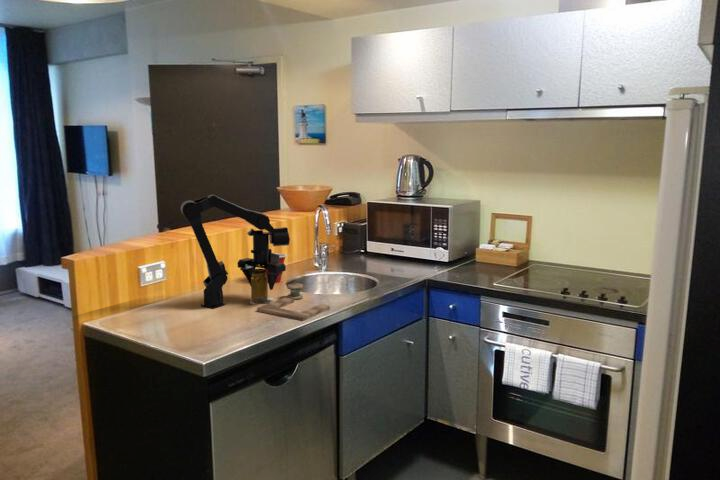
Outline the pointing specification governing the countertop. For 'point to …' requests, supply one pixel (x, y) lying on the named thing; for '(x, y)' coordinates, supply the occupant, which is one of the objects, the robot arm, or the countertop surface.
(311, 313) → the brown frame
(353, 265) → the countertop surface
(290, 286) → the spool
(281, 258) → the plastic cup
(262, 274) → the condiment
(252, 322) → the countertop surface
